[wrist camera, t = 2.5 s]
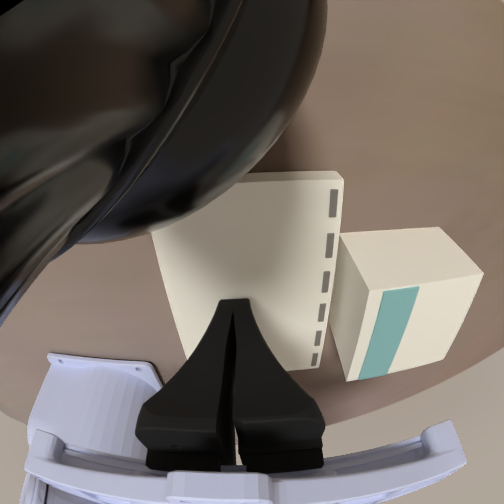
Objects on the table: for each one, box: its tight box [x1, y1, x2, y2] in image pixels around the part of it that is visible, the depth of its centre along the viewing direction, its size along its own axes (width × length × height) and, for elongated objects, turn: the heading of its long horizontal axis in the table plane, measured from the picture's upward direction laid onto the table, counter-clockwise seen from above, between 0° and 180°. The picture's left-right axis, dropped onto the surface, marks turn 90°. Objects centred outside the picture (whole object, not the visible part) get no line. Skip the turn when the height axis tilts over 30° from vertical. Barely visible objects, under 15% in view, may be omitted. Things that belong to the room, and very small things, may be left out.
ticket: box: [151, 171, 344, 371], centre depth 15 cm, size 8×12×1 cm, turn 3°
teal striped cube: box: [329, 227, 484, 382], centre depth 14 cm, size 6×6×5 cm
